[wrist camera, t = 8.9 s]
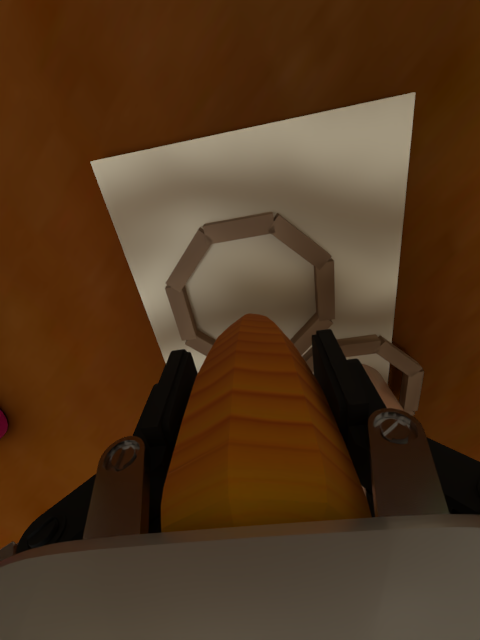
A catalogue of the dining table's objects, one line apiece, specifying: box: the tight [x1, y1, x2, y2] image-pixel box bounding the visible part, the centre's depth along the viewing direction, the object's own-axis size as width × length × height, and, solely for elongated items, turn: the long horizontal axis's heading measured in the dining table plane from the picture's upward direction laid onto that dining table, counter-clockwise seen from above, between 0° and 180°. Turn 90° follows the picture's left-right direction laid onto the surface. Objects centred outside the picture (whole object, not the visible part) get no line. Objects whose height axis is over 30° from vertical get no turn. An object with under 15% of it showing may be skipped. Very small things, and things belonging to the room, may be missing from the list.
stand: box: [90, 92, 424, 416], centre depth 19 cm, size 23×18×2 cm
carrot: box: [161, 313, 372, 533], centre depth 9 cm, size 5×5×15 cm
